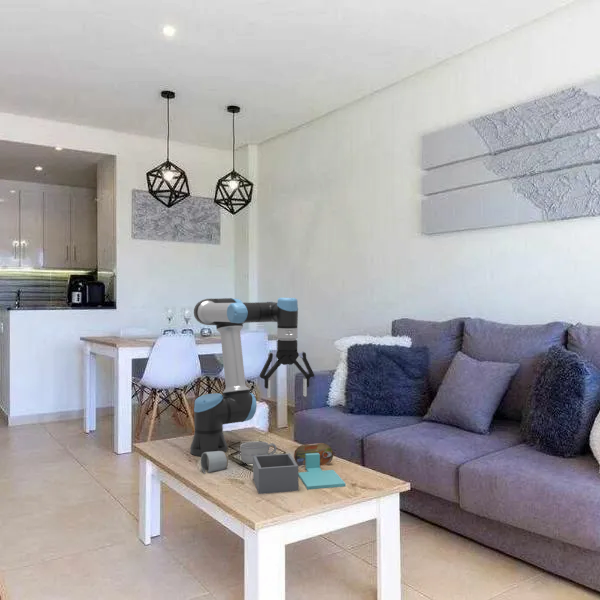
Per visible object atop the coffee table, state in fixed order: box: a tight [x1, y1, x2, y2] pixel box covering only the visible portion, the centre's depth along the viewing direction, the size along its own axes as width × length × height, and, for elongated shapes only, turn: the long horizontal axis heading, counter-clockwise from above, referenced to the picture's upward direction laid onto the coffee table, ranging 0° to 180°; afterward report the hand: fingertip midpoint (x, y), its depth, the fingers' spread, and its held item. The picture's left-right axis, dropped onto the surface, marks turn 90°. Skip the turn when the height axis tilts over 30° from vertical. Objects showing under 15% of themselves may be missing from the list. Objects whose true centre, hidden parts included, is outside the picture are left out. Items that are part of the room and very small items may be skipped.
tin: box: [293, 442, 334, 467], centre depth 208 cm, size 15×3×8 cm, turn 105°
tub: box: [252, 453, 300, 495], centre depth 184 cm, size 15×13×9 cm
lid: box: [298, 453, 347, 491], centre depth 191 cm, size 21×13×7 cm, turn 12°
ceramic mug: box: [200, 451, 229, 474], centre depth 204 cm, size 11×8×8 cm
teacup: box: [240, 441, 278, 465], centre depth 211 cm, size 14×11×8 cm
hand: (286, 396), depth 204 cm, fingers open, 13 cm apart
